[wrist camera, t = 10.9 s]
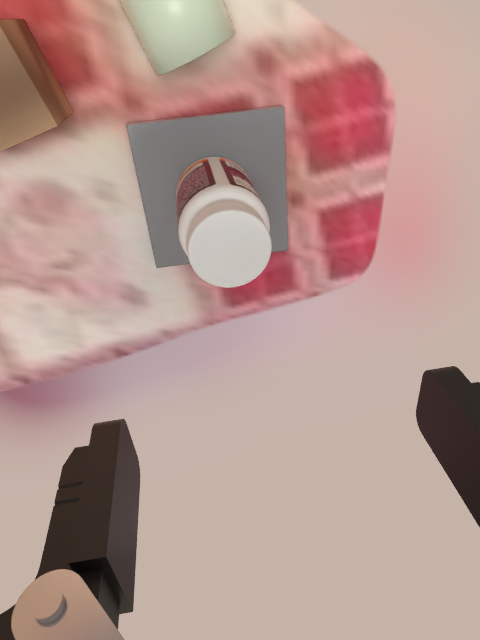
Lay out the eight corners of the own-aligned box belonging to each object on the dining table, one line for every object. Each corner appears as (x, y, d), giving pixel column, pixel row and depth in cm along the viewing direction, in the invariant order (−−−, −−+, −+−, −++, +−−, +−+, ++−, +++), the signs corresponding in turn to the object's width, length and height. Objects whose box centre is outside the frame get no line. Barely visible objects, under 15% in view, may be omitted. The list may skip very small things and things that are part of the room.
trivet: (127, 123, 26) (126, 125, 25) (281, 105, 26) (284, 106, 26) (156, 264, 31) (156, 268, 30) (286, 246, 31) (287, 250, 31)
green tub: (142, 85, 22) (94, -8, 20) (177, 59, 25) (138, -23, 23) (218, 47, 20) (173, -61, 18) (246, 24, 23) (210, -71, 21)
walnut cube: (-54, 56, 23) (-97, 63, 19) (24, 19, 23) (-5, 19, 19) (3, 142, 26) (-26, 163, 22) (74, 110, 25) (57, 125, 21)
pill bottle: (181, 234, 29) (185, 300, 22) (170, 158, 26) (172, 207, 20) (253, 226, 30) (280, 289, 23) (250, 151, 27) (279, 196, 20)
